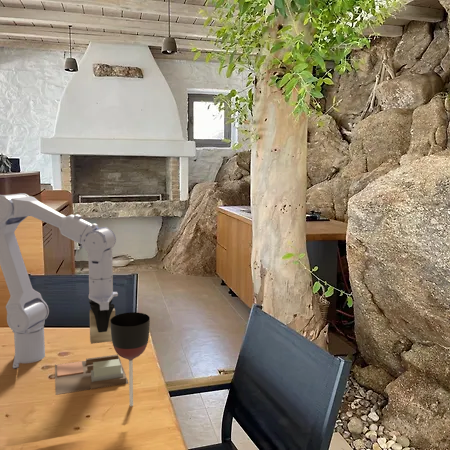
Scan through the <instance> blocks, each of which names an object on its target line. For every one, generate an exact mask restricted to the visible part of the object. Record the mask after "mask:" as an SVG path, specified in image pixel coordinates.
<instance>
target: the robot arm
mask: <svg viewBox="0 0 450 450" xmlns="http://www.w3.org/2000/svg"><path fill="white" fill-rule="evenodd" d="M28 217H32V218H35V219H37V220H39V221H42V222H44V223H47V224H49V225H51V226H53V227H54V228H55V227H56V228H58V229H59V232H60V235H62V236H64V237H66V238H67V239H69V240H71V241H73V242H75V243H78V244H79V245H82V246H83V248H84V250H85V251H86V253H87V258H88V293H89V294H88V299H89V301H88V303H89V307H90V310H92V311H93V313H94V315H95V319H96V325H97V329H98V332H107V329H108V325H109V319H110V315H111V313H112V311H113V309H115V304H114V303H112V302H113V299H114V297H118V296H119V293H118V291H114V285H113V284H114V283H113V282H114V280H113V279H114V277H113V276H114V274H113V273H114V272H113V247H114V246H115V244H116V243H117V237H116V234H115V232H114V231H113V230H111V229H110V228H109V227H108V226H101V227H99V224H97V223H96V222H95V223H91V222H89V221H88V220H85V219H83V218H82V217H83V216H82V215H80V214H79V213H77V214H69V215H67V216H66V215H65V214H63V213H60V212H59V211H57V210H55V209H54V208H52V207H50V206H49V205H46V204H45V203H43V202H41V201H39V200H38V199H37V198H36V197H35V196H33V195H29V194H27V193H23V192H19V193H12V194H0V268H1V271H2V274H3V277H4V281H5V283H6V286H7V289H8V292H9V295H10V297H9V299H8V301H7V302H6V305H5V309H6V322H7V325H8V327H9V329H10V330H11V331H12V333H13V339H14V358H13V363H12V369H18V368H19V367H20V364H32V363H36V362H39V361H42V360H43V359H44V358H45V357H46V347H45V346H46V344H45V326H44V325H45V320H47V318H48V316H49V313H50V309H49V305H48V304H47V302H46V301H45V300H44V299H43V296H42V294H41V293H40V292H39V291H37V290H35V289H34V288H33V286H32V282H31V279H30V276H29V273H28V270H27V267H26V264H25V262H24V257H23V256H22V252H21V249H20V245H19V243H18V239H17V236H16V230H17V228H18V227H19V226H20V223H22V222H23V221H24V220H25V219H27V218H28Z"/></svg>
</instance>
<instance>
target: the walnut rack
mask: <svg viewBox="0 0 450 450" xmlns="http://www.w3.org/2000/svg"><path fill="white" fill-rule="evenodd" d="M114 359H119V361H120V364H121V368H122V371H123V377H121V378H115V379H108V380H101V381H95V382H92V380H91V370H93V362H100V361H107V360H114ZM54 376H55V377H54V379H55V380H54V383H55V386H54V387H55V389H54V390H55V395H57V396H58V395H65V394H69V393H77V392H82V391H89V390H96V389H102V388H108V387H113V386H121V385H126V384H129V379H128V377H127V375H126V373H125V369H124V366H123V363H122V361H121V359H120V356H119V355H118V354H112V355H111V354H110V355H103V356H96V357H90V358H86V359H85V360H80V361H74V362H68V363H67V362H66V363H60V364H59V363H58V364H57V363H56V364H54Z"/></svg>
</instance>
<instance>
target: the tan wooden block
mask: <svg viewBox="0 0 450 450" xmlns="http://www.w3.org/2000/svg"><path fill="white" fill-rule="evenodd" d="M114 316H116V308H114V309H113V311H112V313H111V315H110V319H109V325H108V329H107V332H98V329H97V325H96V319H95V315H94V313H93V311H92V310H91V309H89V341H90V345H92V344H100V343H110V342H111V343H112V337H111V324H110V320H111V318H112V317H114Z"/></svg>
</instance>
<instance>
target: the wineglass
mask: <svg viewBox="0 0 450 450" xmlns="http://www.w3.org/2000/svg"><path fill="white" fill-rule="evenodd" d="M150 321H151V320H150V316H149V315H148V314H146V313H143V312H134V311H133V312H123V313H120V314H119V313H118V314H115V316H114V317H112V318H111V320H110V324H111V337H112V341H111V343H112V346H113V349H114V351H115V353H116V355H118V356H119V357H121V358H122V359H125V360H128V374H129V375H128V384H129V385H128V387H129V391H128V393H129V394H128V395H129V406H130V407H133V406H134V374H133V372H134V371H133V370H134V369H133V368H134V367H133V365H134V364H133V360H134V359H136V358H138V357H140V356H141V355H142V354H143V353H144V352H145V350H146V348H147V346H148V344H149V338H150V324H151V322H150Z"/></svg>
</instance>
